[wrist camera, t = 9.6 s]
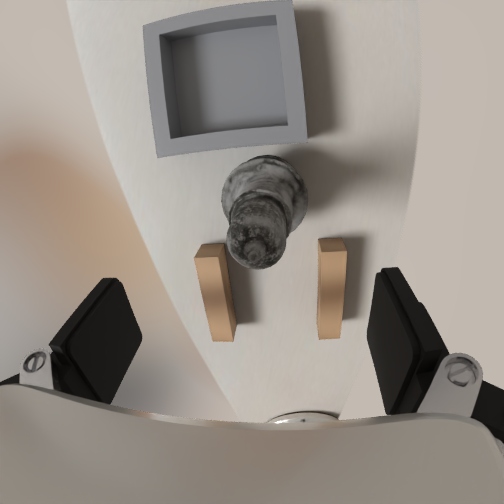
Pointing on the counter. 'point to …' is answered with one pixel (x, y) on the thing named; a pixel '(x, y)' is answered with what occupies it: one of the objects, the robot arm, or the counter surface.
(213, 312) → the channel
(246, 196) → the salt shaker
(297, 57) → the square tray
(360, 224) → the counter surface
